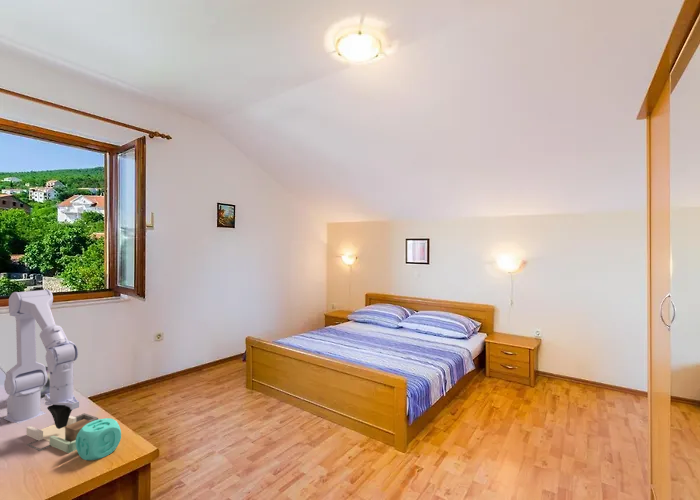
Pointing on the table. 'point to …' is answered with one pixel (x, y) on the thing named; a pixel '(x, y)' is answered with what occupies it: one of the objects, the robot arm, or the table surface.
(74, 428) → the walnut cube
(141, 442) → the table surface
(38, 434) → the tray
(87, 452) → the decorative dice
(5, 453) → the table surface
